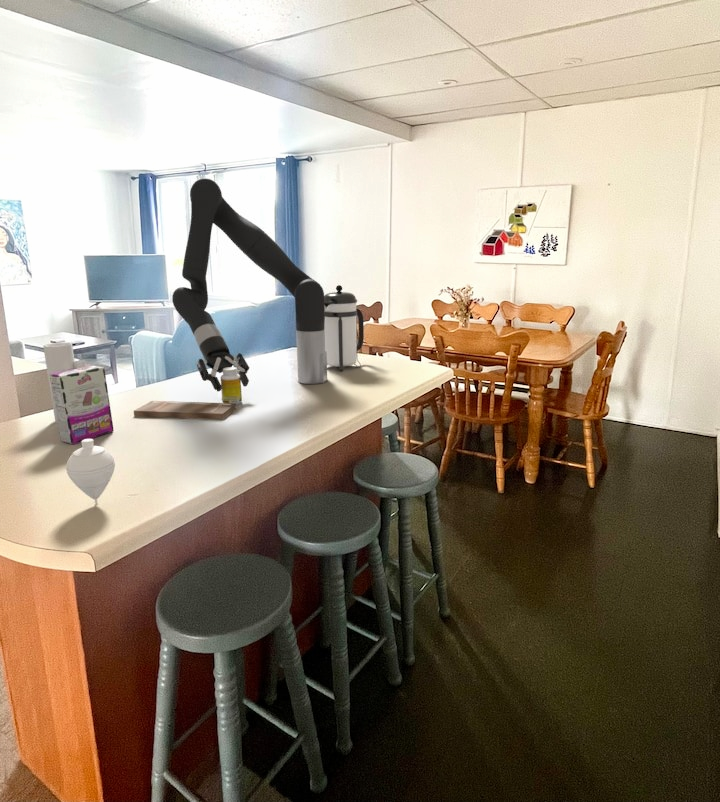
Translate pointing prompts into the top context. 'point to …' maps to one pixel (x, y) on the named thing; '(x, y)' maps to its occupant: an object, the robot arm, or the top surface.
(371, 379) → the top surface
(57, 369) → the vase
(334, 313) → the coffee press
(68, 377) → the candy bar box
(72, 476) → the spinning top
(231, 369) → the supplement bottle
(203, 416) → the walnut board
